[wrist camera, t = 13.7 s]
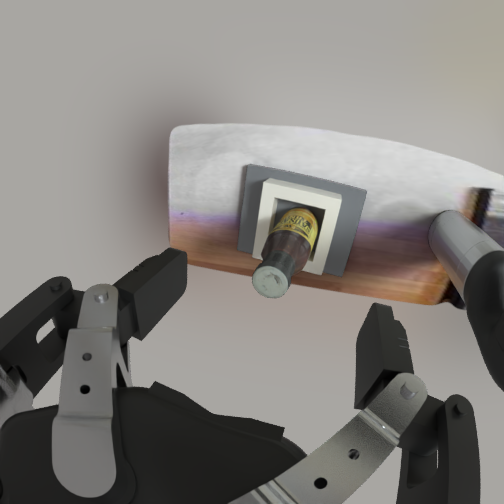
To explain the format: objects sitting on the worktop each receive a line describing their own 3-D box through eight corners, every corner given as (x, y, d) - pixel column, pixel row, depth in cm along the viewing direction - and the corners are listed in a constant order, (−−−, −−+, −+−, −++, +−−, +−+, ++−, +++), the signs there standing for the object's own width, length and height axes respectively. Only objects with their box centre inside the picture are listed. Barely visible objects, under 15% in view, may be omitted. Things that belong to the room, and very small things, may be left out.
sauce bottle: (319, 206, 43) (307, 259, 26) (318, 241, 46) (303, 311, 29) (280, 204, 45) (242, 253, 28) (280, 238, 48) (245, 303, 30)
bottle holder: (365, 190, 41) (369, 197, 36) (341, 273, 48) (341, 288, 44) (250, 164, 45) (239, 168, 40) (239, 246, 52) (229, 259, 48)
